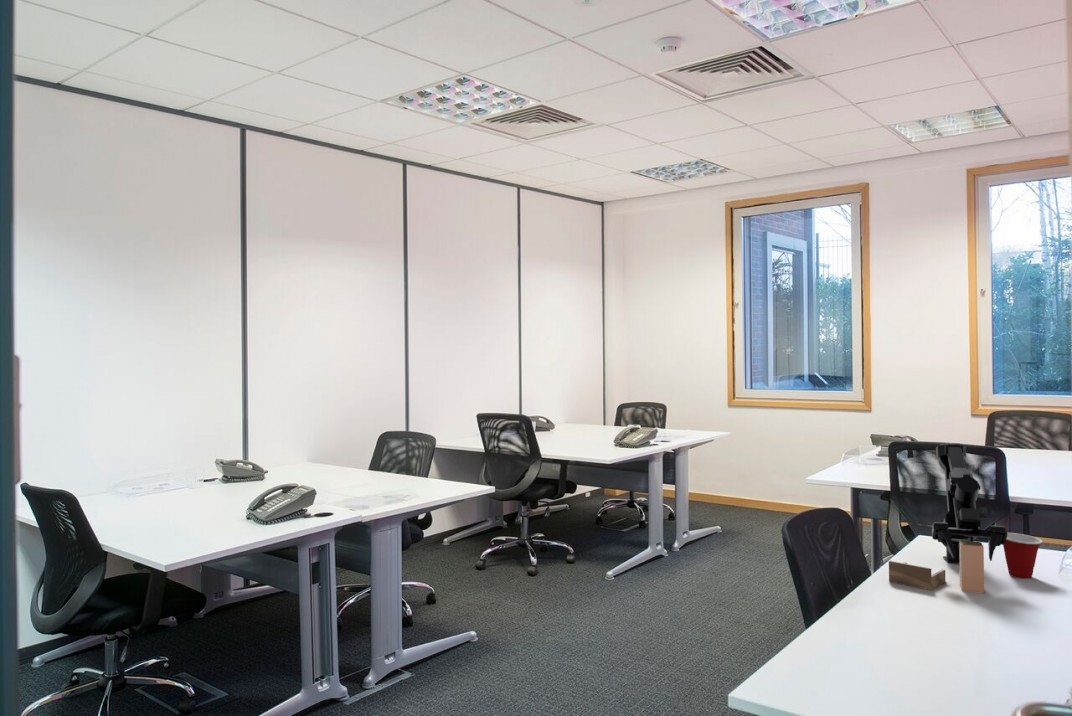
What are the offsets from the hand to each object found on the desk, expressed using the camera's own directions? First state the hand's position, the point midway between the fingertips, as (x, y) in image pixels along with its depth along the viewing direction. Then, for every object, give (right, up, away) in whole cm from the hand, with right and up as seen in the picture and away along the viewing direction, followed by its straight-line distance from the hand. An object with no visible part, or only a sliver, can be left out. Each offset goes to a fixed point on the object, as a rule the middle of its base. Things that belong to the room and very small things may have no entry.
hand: (972, 558), depth 213 cm
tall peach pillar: (0, -9, 0) cm, 9 cm away
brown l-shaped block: (-12, -9, +8) cm, 17 cm away
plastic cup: (+22, -9, +12) cm, 26 cm away
